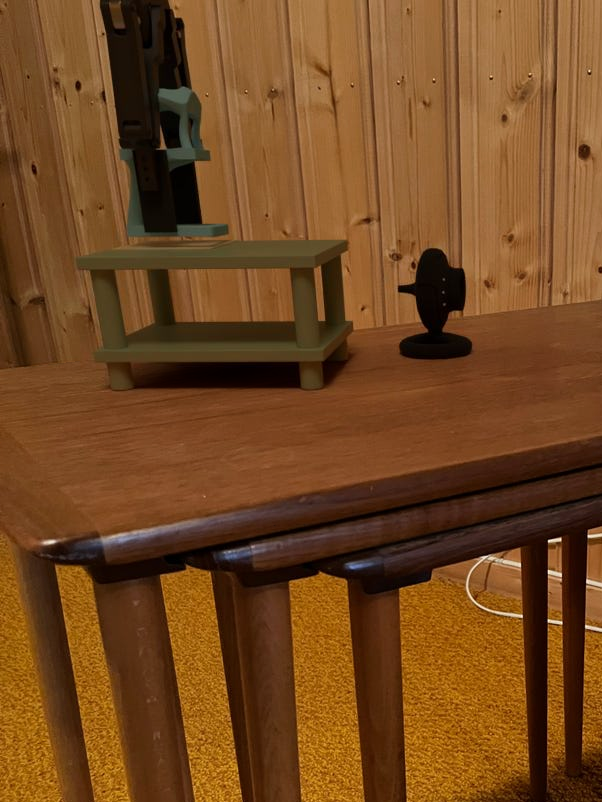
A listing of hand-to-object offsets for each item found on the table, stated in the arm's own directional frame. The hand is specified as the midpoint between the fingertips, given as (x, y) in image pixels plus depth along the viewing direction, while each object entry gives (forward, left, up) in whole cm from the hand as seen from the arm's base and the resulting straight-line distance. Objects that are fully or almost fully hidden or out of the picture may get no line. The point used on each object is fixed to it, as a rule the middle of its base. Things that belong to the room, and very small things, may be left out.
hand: (175, 228), depth 89 cm
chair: (0, 0, -1) cm, 1 cm away
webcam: (+23, +7, -13) cm, 27 cm away
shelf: (+5, -3, -12) cm, 14 cm away
